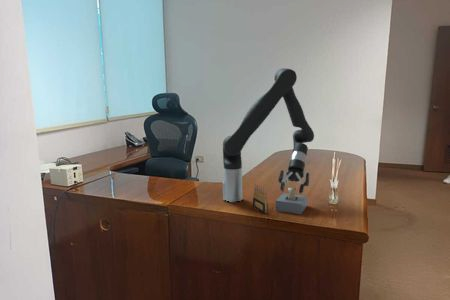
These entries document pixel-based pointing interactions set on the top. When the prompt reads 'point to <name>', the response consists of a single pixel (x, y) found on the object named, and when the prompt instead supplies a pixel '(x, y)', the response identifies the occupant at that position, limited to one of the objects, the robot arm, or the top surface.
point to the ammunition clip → (260, 199)
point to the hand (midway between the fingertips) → (291, 191)
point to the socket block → (291, 204)
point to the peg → (292, 193)
